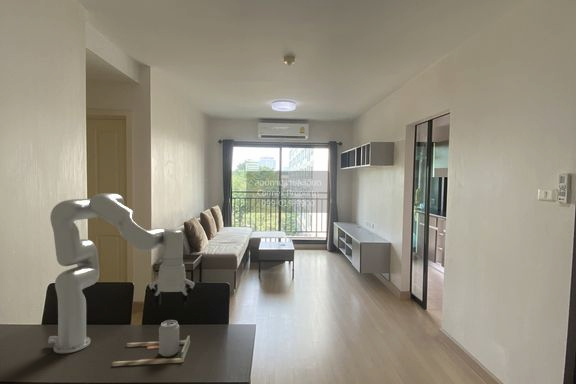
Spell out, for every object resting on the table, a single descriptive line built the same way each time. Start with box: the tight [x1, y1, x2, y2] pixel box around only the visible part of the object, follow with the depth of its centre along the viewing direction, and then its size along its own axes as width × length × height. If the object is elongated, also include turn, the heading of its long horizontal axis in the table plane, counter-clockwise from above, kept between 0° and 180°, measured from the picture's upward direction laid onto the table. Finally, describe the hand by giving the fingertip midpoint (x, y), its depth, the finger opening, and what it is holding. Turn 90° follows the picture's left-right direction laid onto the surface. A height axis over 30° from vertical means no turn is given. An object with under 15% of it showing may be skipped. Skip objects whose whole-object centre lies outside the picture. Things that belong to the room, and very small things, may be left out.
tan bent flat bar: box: [111, 335, 191, 367], centre depth 127 cm, size 25×15×4 cm, turn 97°
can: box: [158, 319, 180, 358], centre depth 128 cm, size 8×8×12 cm
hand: (171, 304), depth 128 cm, fingers open, 9 cm apart
